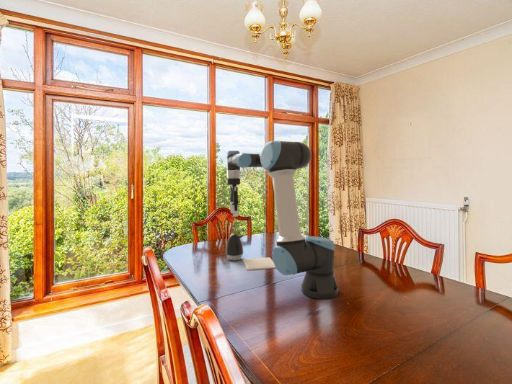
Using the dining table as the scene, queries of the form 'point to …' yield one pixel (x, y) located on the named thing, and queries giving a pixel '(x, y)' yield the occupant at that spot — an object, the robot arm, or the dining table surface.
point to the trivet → (258, 263)
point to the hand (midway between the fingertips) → (234, 214)
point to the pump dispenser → (234, 247)
